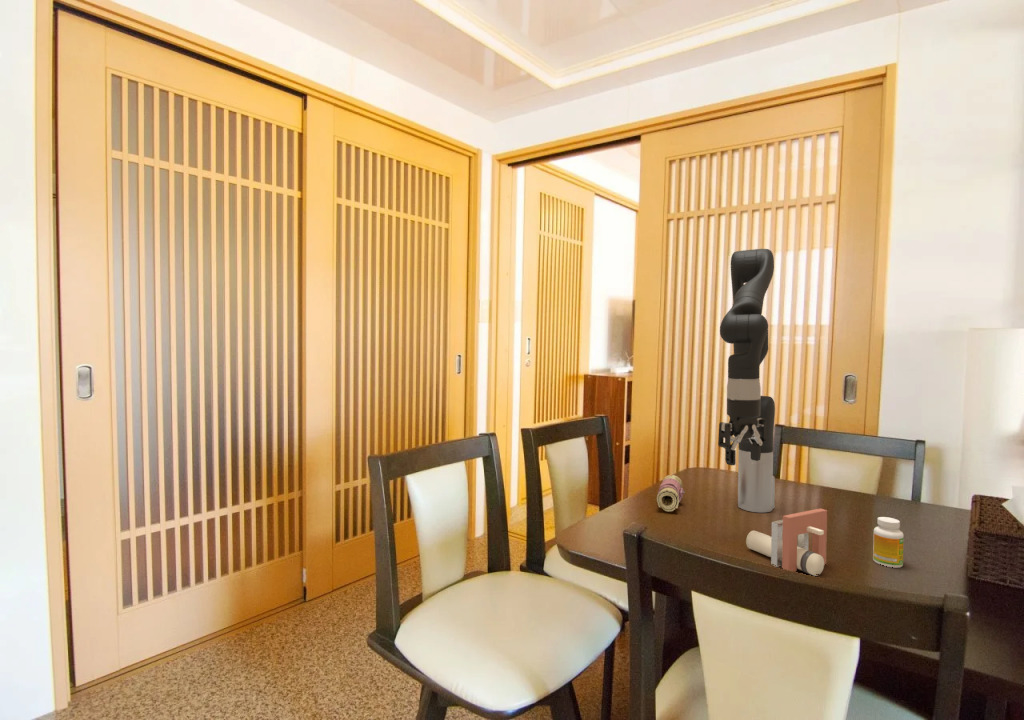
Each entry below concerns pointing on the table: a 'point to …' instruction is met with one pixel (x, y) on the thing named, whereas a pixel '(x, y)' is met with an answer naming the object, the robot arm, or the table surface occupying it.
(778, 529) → the grey u-shaped panel
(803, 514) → the wall
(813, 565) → the white long cylinder
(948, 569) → the table surface
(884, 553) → the supplement bottle
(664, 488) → the scroll
